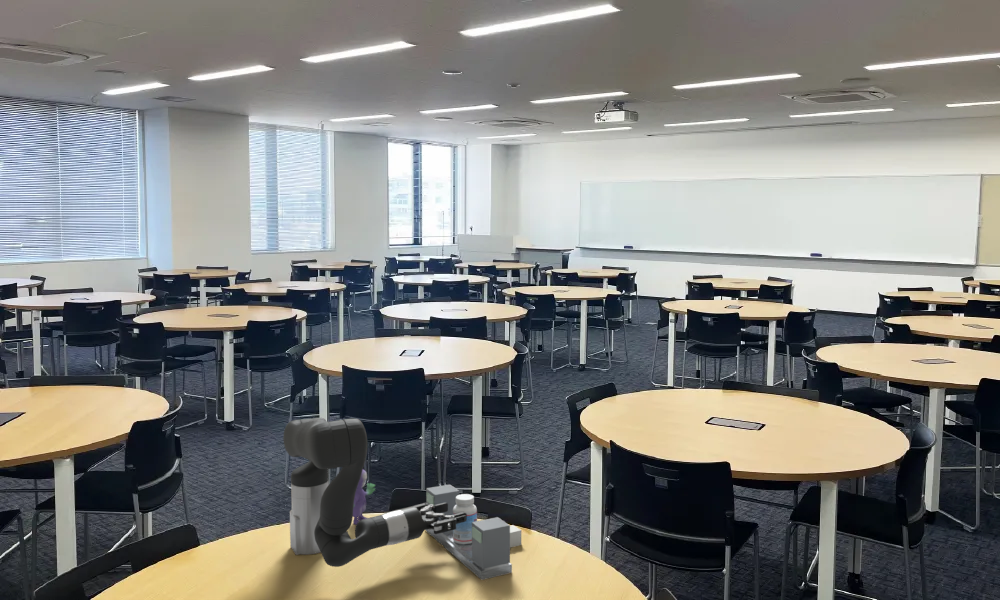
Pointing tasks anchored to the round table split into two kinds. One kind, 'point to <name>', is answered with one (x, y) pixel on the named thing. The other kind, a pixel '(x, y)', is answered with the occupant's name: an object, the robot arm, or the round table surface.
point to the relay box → (515, 536)
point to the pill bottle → (465, 528)
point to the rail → (469, 556)
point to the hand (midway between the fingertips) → (456, 511)
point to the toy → (361, 498)
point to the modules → (478, 530)
